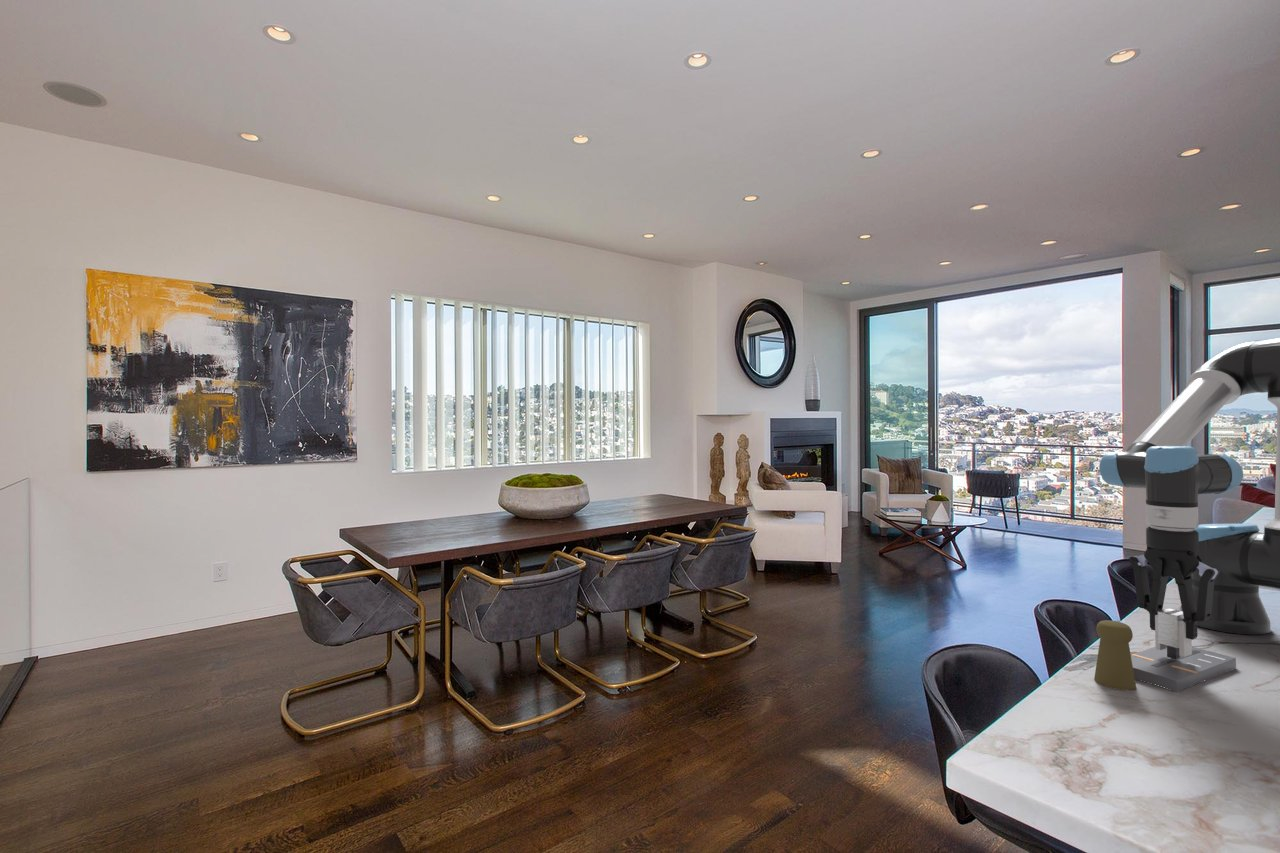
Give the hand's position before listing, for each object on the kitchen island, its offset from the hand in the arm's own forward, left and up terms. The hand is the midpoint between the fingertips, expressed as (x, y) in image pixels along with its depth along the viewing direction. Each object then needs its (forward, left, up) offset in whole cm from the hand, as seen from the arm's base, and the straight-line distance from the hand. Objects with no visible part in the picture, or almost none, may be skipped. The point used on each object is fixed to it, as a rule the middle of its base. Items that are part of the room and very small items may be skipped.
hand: (1173, 651), depth 116 cm
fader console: (0, 0, -4) cm, 4 cm away
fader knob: (0, 0, -1) cm, 1 cm away
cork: (+16, -2, -4) cm, 16 cm away
